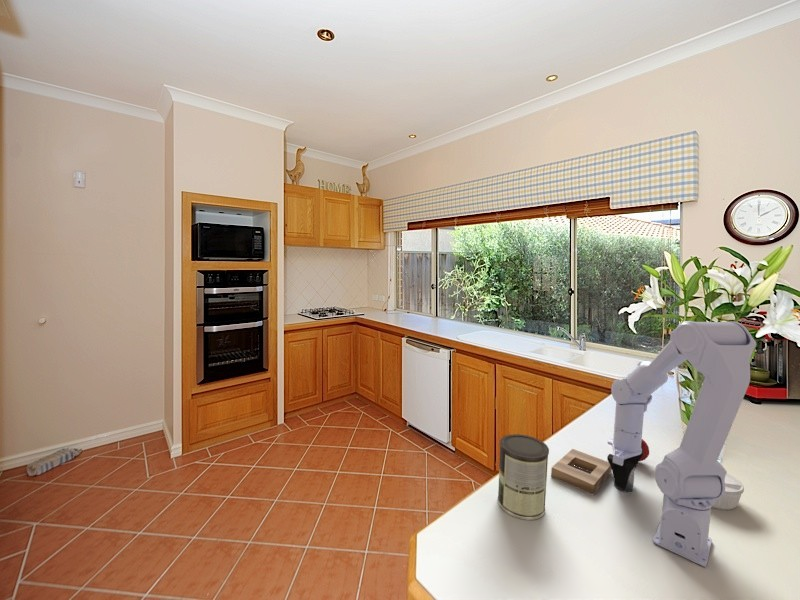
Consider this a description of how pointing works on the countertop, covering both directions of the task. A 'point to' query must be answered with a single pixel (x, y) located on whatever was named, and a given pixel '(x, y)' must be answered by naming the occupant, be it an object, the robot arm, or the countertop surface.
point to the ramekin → (730, 494)
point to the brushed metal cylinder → (630, 482)
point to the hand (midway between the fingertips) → (623, 481)
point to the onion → (645, 449)
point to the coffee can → (523, 476)
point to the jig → (580, 478)
